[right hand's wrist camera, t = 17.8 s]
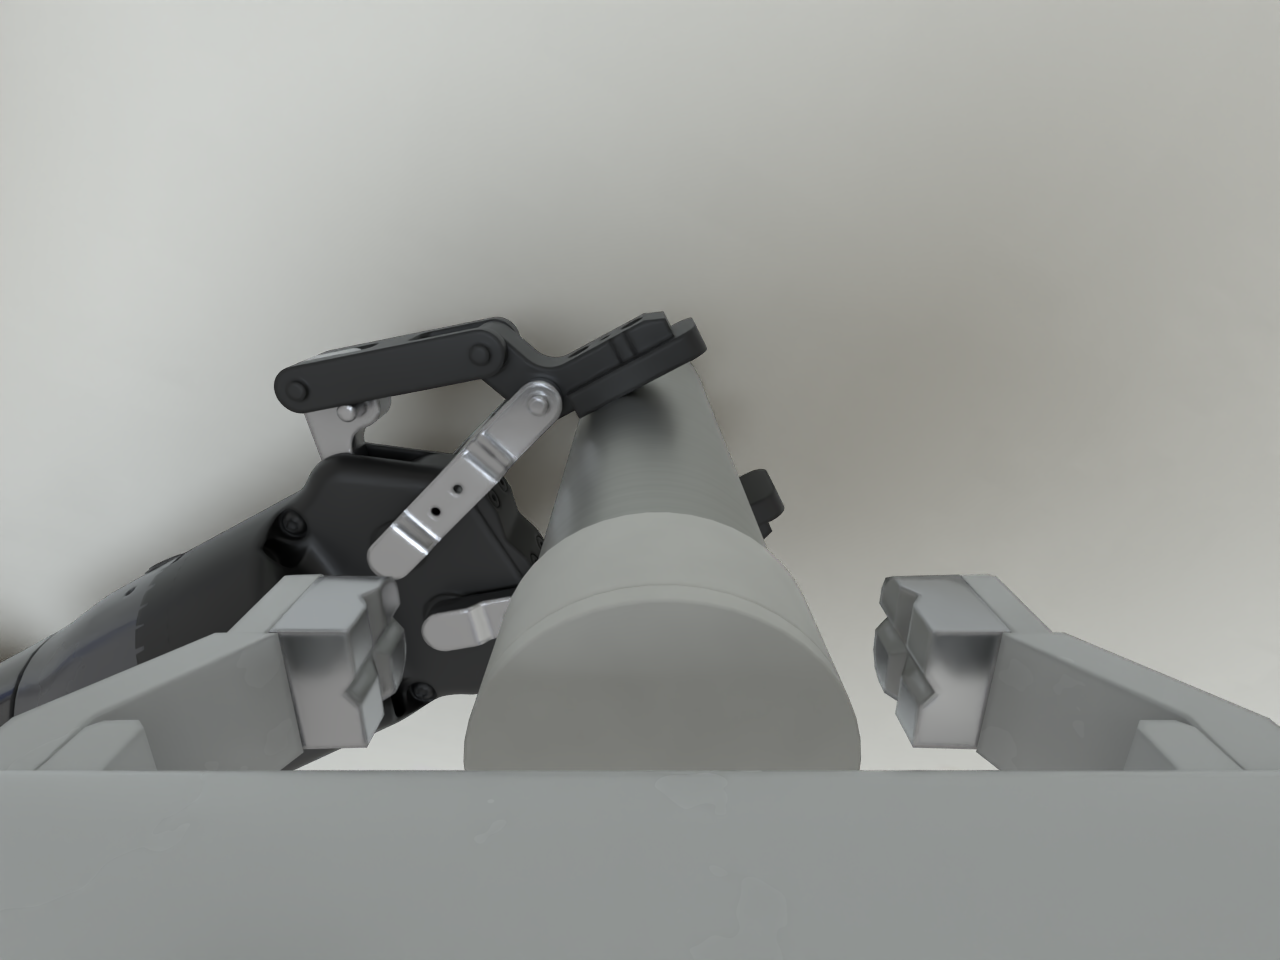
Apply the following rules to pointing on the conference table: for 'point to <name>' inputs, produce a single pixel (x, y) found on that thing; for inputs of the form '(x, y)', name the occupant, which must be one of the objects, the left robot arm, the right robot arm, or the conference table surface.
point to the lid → (660, 659)
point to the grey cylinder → (651, 462)
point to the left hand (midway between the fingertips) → (735, 414)
